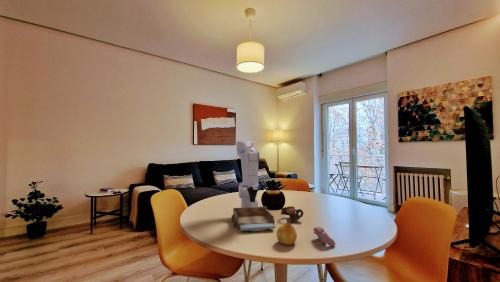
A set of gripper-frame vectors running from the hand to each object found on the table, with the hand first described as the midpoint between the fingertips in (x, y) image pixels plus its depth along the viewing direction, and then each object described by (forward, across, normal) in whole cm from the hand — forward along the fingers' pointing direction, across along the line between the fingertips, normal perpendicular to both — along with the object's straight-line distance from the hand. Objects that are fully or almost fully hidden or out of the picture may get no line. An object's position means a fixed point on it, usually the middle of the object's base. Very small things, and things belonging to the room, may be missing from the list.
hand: (252, 202), depth 118 cm
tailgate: (+9, +7, 0) cm, 11 cm away
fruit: (+11, +26, +9) cm, 30 cm away
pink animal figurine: (+12, +28, +24) cm, 38 cm away
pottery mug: (+11, -1, +21) cm, 24 cm away
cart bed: (+10, 0, 0) cm, 10 cm away
